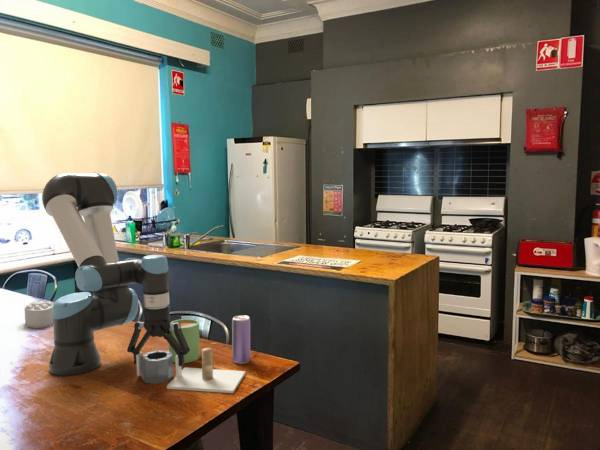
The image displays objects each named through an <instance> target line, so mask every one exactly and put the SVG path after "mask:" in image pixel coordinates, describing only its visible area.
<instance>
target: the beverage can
mask: <svg viewBox="0 0 600 450" xmlns="http://www.w3.org/2000/svg"><path fill="white" fill-rule="evenodd" d="M231 329H232V331H231V334H232V335H231V339H232V340H231V341H232V343H231V347H232V350H231V351H232V352H231V353H232V361H233V363H234V364H236V365H243V364H247V363H249V362H250V361H251V319H250V316H249V315H243V314H242V315H241V314H240V315H235V316H233V317H232V321H231Z"/></svg>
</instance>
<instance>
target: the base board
mask: <svg viewBox="0 0 600 450" xmlns="http://www.w3.org/2000/svg"><path fill="white" fill-rule="evenodd" d="M245 375H246V371H245V370H233V369H216V368H215V369H214V368H213V379H212V380H208V381H205V380H203V379H202V367H200V368H199V367H185V366H184V367H183V369H182V374H181V375H180V377H179V378H176V376H175V377H174V378H172V380H171V381H170V382H169V383H168V384H167V385H166V389H168V390H181V391H194V392H197V391H198V392H208V393H209V392H211V393H223V394H234V393H235V391H236V390H237V388H238V386H239V385H240V383H241V382H242V380H243V379H244V377H245Z"/></svg>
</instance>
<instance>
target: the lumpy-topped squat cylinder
mask: <svg viewBox="0 0 600 450" xmlns="http://www.w3.org/2000/svg"><path fill="white" fill-rule="evenodd" d="M53 304H54V303H53V302H52V301H47V302H46V301H43V300H41V301H40V300H39V301H33V302H30V303H29V304H26V305H25V306H24V321H25V326H27V328H28V327H29V328H35V329H38V328H40V329H42V328H46V327H50V326H53V317H52V314H53Z"/></svg>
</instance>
